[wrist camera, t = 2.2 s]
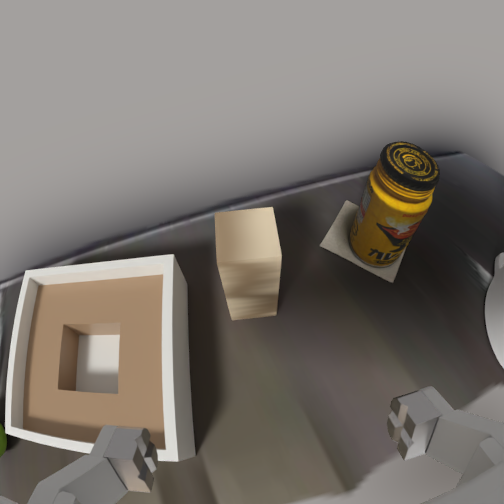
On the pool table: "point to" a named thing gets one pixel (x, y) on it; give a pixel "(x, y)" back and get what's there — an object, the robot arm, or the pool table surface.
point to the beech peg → (249, 261)
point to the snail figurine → (2, 440)
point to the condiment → (386, 210)
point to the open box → (102, 355)
